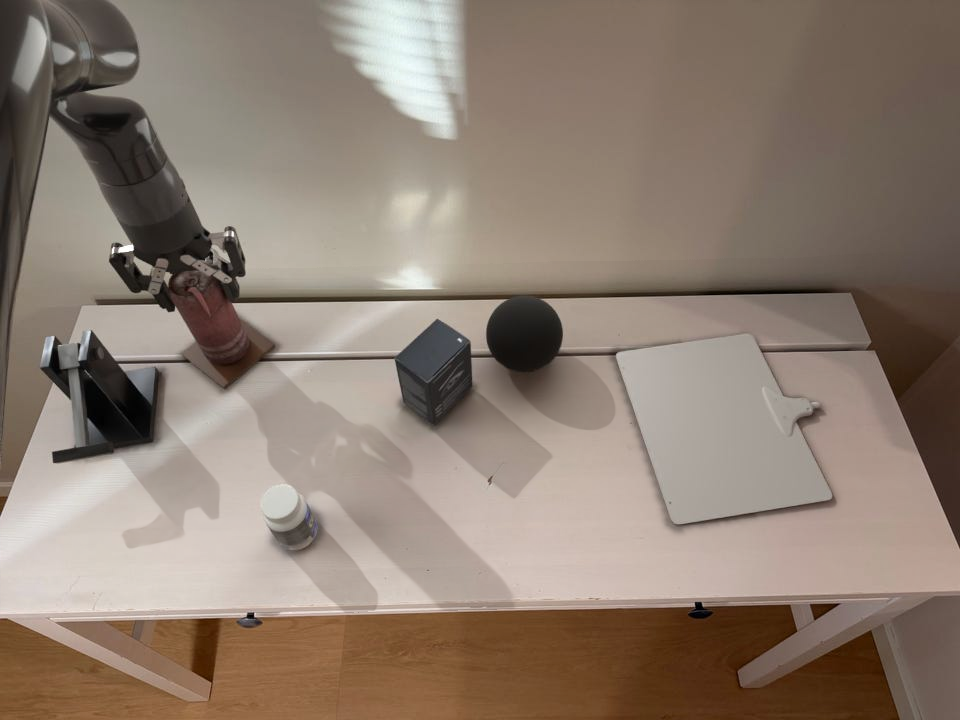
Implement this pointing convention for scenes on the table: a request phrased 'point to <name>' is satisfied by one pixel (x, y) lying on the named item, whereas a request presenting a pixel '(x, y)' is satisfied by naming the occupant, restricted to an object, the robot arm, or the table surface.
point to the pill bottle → (288, 517)
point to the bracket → (108, 393)
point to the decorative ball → (524, 333)
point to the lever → (78, 410)
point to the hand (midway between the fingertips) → (203, 301)
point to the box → (435, 371)
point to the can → (209, 316)
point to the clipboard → (720, 429)
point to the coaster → (233, 371)
